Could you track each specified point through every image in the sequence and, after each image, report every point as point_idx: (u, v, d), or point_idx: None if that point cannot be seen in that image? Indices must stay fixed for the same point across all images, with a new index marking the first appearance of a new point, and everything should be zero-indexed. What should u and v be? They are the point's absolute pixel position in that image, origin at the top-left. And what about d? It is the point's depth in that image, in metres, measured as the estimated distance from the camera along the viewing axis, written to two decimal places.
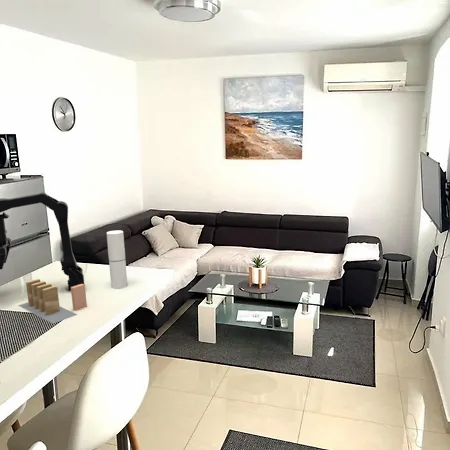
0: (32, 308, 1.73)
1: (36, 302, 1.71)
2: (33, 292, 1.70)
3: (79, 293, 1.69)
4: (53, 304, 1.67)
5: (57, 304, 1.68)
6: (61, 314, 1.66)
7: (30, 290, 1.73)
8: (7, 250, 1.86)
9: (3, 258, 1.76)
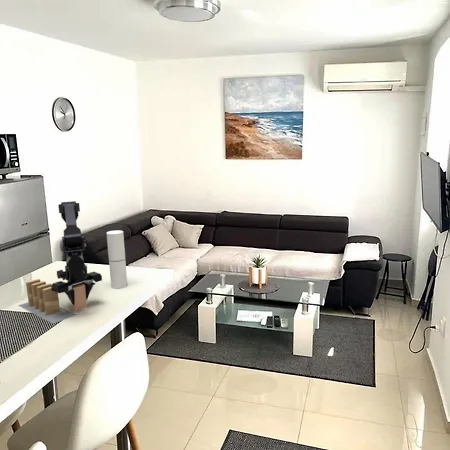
0: (32, 308, 1.73)
1: (36, 302, 1.71)
2: (33, 292, 1.70)
3: (79, 293, 1.69)
4: (53, 304, 1.67)
5: (57, 304, 1.68)
6: (61, 314, 1.66)
7: (30, 290, 1.73)
8: (87, 288, 1.71)
9: (70, 295, 1.66)
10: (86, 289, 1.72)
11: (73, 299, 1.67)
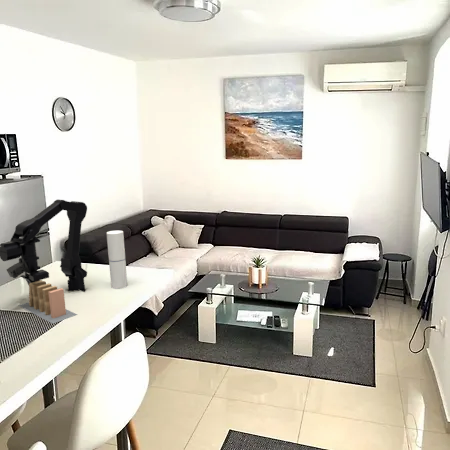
0: (32, 308, 1.73)
1: (36, 302, 1.71)
2: (33, 292, 1.70)
3: (57, 298, 1.63)
4: None
5: None
6: None
7: None
8: None
9: (38, 280, 1.75)
10: None
11: None
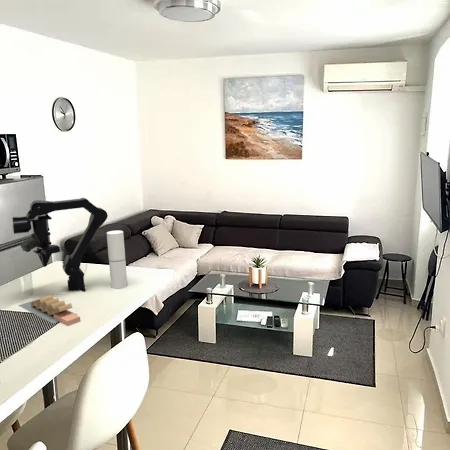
0: (32, 308, 1.73)
1: (40, 308, 1.69)
2: (43, 305, 1.66)
3: None
4: None
5: None
6: None
7: None
8: None
9: (49, 255, 1.85)
10: None
11: None
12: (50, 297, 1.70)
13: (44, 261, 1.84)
